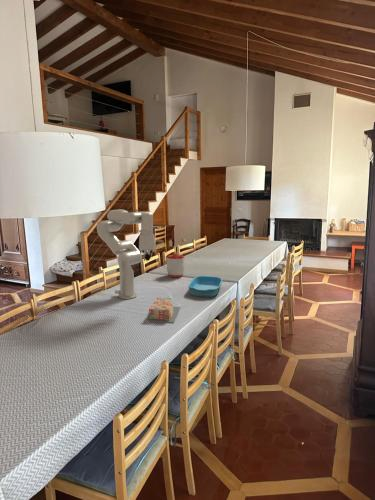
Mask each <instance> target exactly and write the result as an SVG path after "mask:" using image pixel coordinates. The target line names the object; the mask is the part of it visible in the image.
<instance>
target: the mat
mask: <svg viewBox="0 0 375 500" xmlns="http://www.w3.org/2000/svg"><path fill="white" fill-rule="evenodd" d="M180 310H181V306H173V314H172V317H171V318H170V320H159V319H149V322H150V323H161V324H163V323H164V324H166V323H167V324H174V323H175V322H176V319H177V317H178V313H179V312H180Z"/></svg>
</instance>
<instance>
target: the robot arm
mask: <svg viewBox="0 0 375 500" xmlns="http://www.w3.org/2000/svg"><path fill="white" fill-rule="evenodd" d="M106 216H107V217H106V218H107V219H108V220H102V221H99V222H98V223H97V224H96V231H97V235H98V236H99V238H100V239H101V240H102V241H103V242H104V243H105V244H106V245H107V247H108V248H109V249H110V250H111V252H112V253H113V254H114V255H116V256H117V264H118V268H119V269H118V270H119V286H120V287H119V288H120V289H117V290H116V289H115V290H114V294H118V295H117V296H118V298H119V299H121V300H122V299H123V300H130V299H135V298H136V297H137V293H136V292H135V278H134V277H135V276H134V275H135V274H134V273H135V272H134V269H133V267H132V266H133V265H136V264H140V263H142V260H143V256H142V253H143V254H144V257H145V258H144V259H145V261H146V262H149V261H150V260H151V254H152V253H155V252H156V251H157V250H156V247H157V246H156V236H155V233H154V215H153V213H152V212H145V211H132V212H129V211H127V210H125V209H112V210H109V211H108V212H107V215H106ZM138 224H140V227H141V228H140V230H138V233H140V234H139V240H138V248H137V247H136V245H134V243H133V242H132V241H130V240H127V239H126V240H125V239H124V240H120V239H118V237H117V236H116V235H115V234H113V232H118V231H120V230H121V229H122V227H123V226H124V225H138ZM141 252H142V253H141Z"/></svg>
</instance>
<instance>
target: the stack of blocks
mask: <svg viewBox="0 0 375 500" xmlns="http://www.w3.org/2000/svg"><path fill="white" fill-rule="evenodd" d="M173 307H174V303H173V302H172V298H171V297H170V298H169V297H166V298H165V297H156V299H155V300H154V301H153V303H152V305H151V306H150V307H149V309H148V319H149V320H151V319H159V320H170V318H171V317H172V314H173Z"/></svg>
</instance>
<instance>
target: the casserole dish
mask: <svg viewBox="0 0 375 500" xmlns="http://www.w3.org/2000/svg"><path fill="white" fill-rule="evenodd" d="M222 283H223V278H222V277H219V276H214V275H197V276H195V277H193V279H192V280H191V281H190V282H189V283H188V289H189V293H190V294H191V295H193V296H194V297H207V298H211V297H215V296H216V295H217V294H218V292H219V290H220V287H221V285H222Z"/></svg>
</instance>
